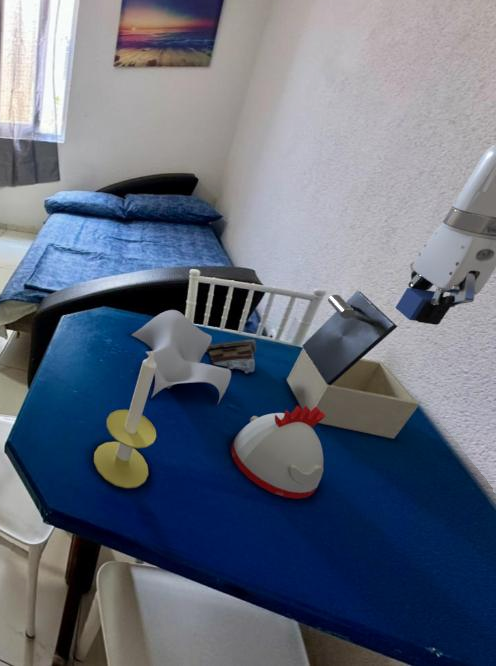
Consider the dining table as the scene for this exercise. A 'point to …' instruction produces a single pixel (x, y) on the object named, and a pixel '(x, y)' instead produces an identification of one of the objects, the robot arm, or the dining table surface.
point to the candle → (129, 437)
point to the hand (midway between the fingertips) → (417, 314)
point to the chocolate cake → (234, 354)
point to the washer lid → (347, 335)
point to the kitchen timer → (282, 452)
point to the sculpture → (180, 352)
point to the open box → (354, 396)
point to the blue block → (414, 302)
